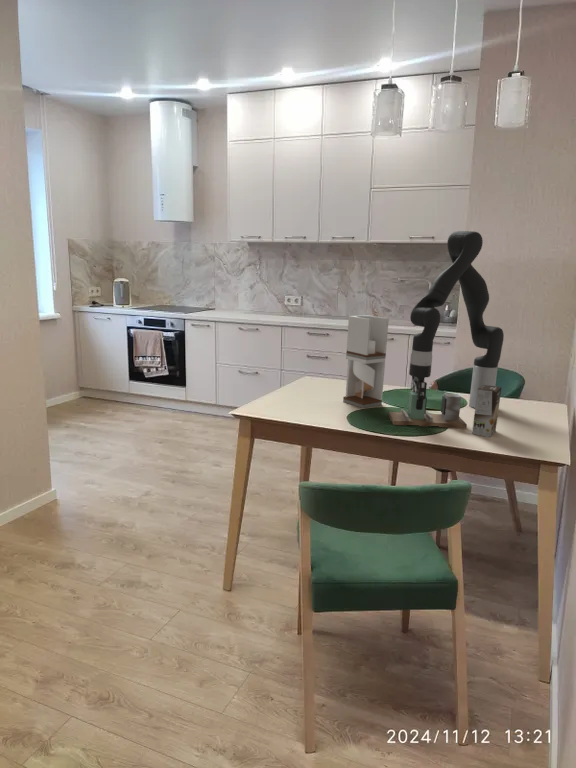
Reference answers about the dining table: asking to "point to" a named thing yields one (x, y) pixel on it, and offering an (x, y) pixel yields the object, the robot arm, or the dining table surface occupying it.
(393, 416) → the rail
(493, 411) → the coffee box
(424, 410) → the green rectangular block
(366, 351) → the white dispenser tower
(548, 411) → the dining table surface
